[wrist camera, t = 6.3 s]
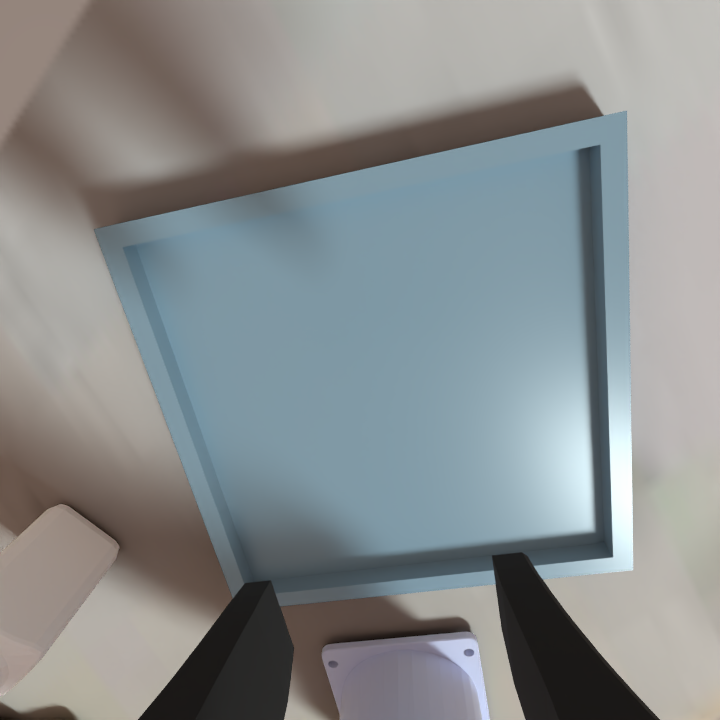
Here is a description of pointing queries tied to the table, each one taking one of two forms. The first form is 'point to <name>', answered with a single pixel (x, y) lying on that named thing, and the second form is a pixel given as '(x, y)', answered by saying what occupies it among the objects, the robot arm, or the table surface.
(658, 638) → the table surface
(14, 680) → the pepper shaker
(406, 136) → the table surface
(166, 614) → the table surface
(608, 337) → the tray
